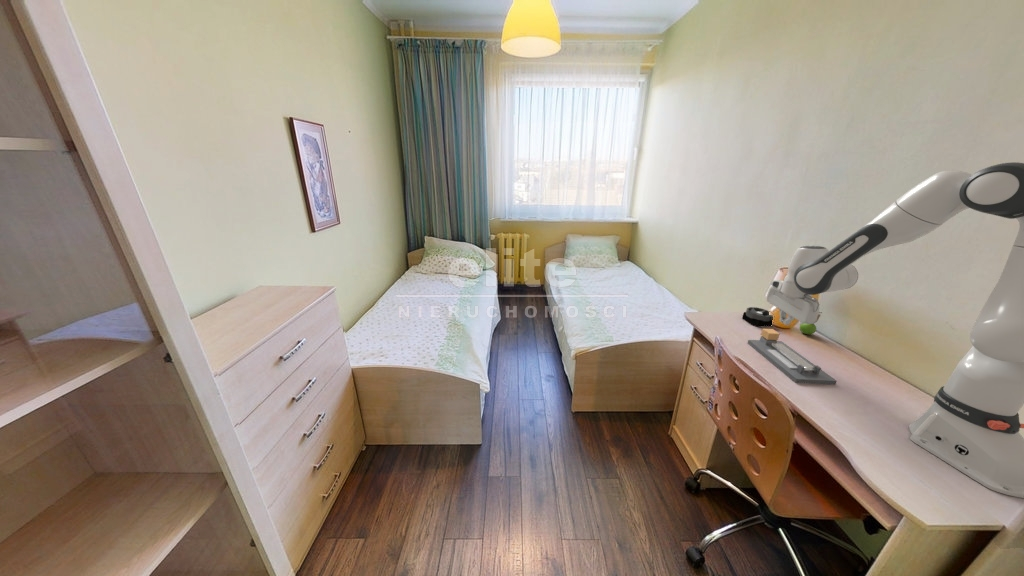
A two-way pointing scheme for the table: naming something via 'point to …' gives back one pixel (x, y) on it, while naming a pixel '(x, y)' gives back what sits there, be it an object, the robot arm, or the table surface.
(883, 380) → the table surface
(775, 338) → the tan small block
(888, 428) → the table surface
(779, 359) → the socket frame
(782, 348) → the grey metal bar
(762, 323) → the cpu cooler
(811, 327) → the snail figurine
